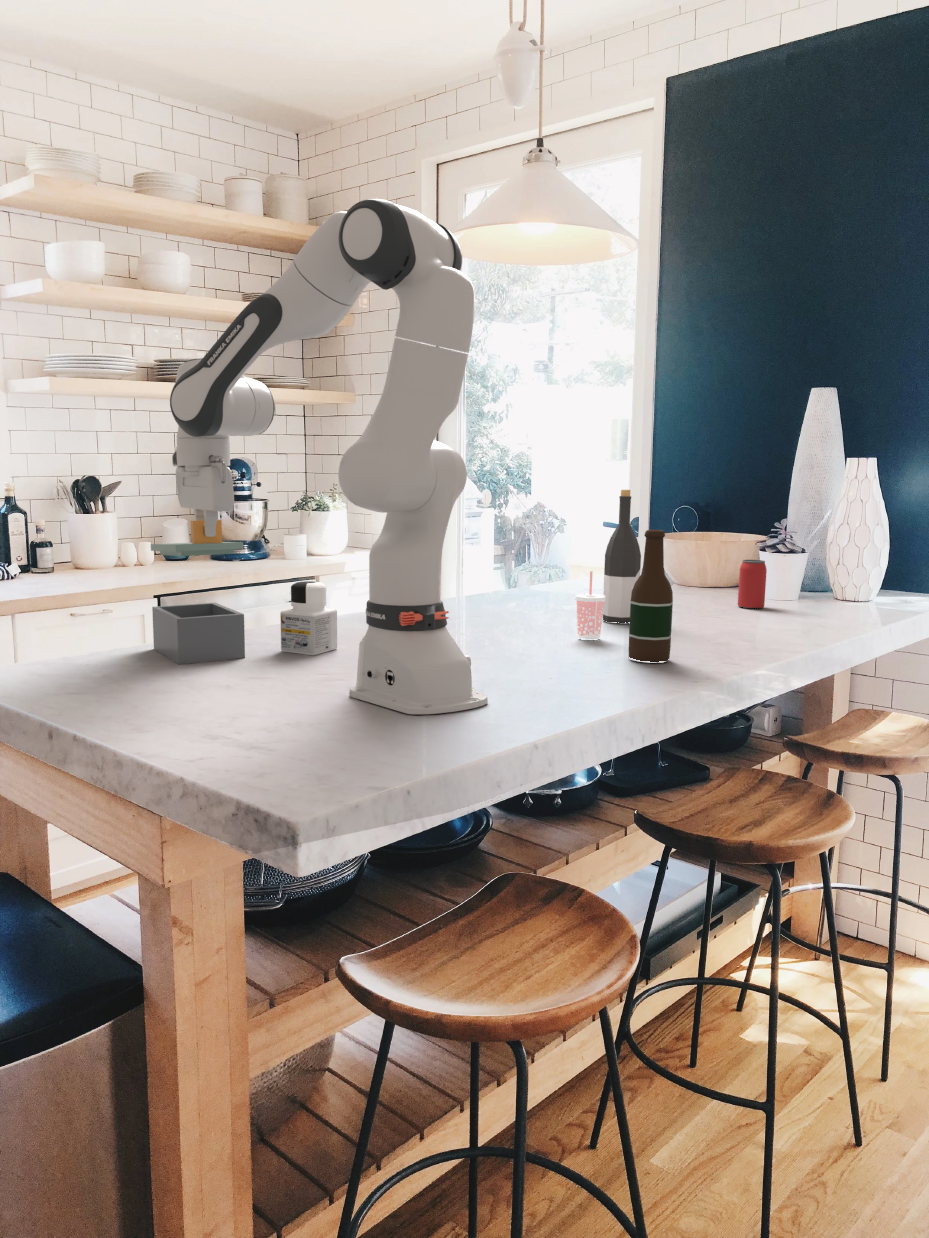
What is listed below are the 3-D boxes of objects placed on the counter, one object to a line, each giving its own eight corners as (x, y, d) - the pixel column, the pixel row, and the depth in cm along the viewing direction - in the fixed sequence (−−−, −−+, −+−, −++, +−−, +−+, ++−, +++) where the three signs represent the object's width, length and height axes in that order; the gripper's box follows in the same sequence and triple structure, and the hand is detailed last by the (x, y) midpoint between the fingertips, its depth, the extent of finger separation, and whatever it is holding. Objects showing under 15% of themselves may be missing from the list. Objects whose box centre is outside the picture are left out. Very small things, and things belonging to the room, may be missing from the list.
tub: (244, 657, 174) (243, 614, 173) (178, 664, 168) (177, 619, 167) (216, 643, 188) (215, 602, 186) (153, 648, 181) (152, 606, 180)
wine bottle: (602, 618, 225) (607, 488, 221) (637, 619, 224) (643, 489, 220) (602, 623, 218) (607, 489, 213) (638, 624, 216) (644, 490, 212)
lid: (243, 553, 171) (242, 519, 170) (176, 556, 164) (173, 521, 164) (214, 552, 184) (213, 520, 184) (151, 555, 178) (149, 522, 177)
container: (280, 651, 180) (278, 582, 178) (305, 645, 187) (304, 578, 185) (313, 656, 177) (312, 585, 175) (338, 649, 184) (337, 581, 182)
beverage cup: (595, 635, 202) (598, 569, 200) (609, 641, 196) (611, 572, 194) (569, 637, 200) (571, 570, 198) (581, 642, 194) (584, 573, 192)
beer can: (738, 608, 243) (741, 561, 241) (736, 605, 250) (738, 559, 248) (765, 609, 242) (769, 562, 240) (762, 606, 248) (765, 559, 247)
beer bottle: (619, 659, 178) (624, 529, 174) (642, 654, 183) (648, 527, 179) (655, 666, 172) (662, 532, 168) (678, 660, 178) (685, 530, 174)
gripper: (242, 455, 160) (244, 539, 162) (203, 456, 177) (206, 532, 179) (204, 455, 156) (207, 540, 158) (169, 456, 173) (172, 533, 175)
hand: (206, 536), depth 169 cm, fingers closed on lid
